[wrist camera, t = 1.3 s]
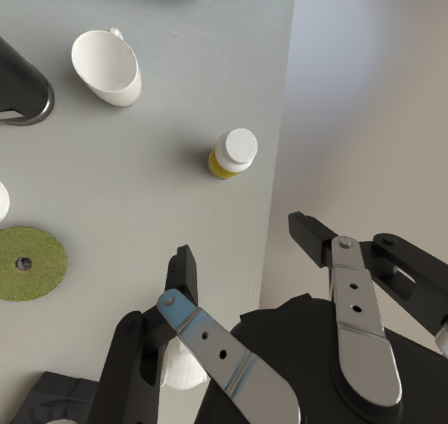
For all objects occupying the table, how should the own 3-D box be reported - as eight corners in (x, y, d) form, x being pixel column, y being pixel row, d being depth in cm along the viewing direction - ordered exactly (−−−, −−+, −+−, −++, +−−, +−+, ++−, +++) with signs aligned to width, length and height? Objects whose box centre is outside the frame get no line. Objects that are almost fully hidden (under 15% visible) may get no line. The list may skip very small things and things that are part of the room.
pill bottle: (232, 184, 34) (255, 175, 23) (203, 173, 33) (213, 158, 22) (241, 155, 34) (268, 133, 24) (212, 143, 33) (227, 114, 22)
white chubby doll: (202, 345, 37) (216, 297, 32) (205, 399, 30) (224, 348, 24) (162, 347, 35) (170, 296, 30) (153, 406, 28) (162, 352, 22)
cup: (94, 110, 28) (67, 81, 21) (101, 49, 28) (76, 1, 21) (144, 122, 30) (134, 99, 23) (151, 64, 30) (142, 25, 23)
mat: (10, 307, 26) (-4, 315, 25) (-30, 243, 25) (-48, 246, 23) (86, 275, 29) (80, 280, 27) (54, 214, 27) (45, 215, 25)
